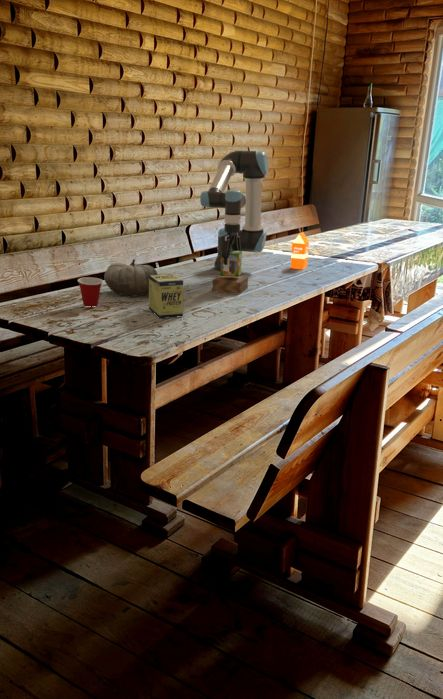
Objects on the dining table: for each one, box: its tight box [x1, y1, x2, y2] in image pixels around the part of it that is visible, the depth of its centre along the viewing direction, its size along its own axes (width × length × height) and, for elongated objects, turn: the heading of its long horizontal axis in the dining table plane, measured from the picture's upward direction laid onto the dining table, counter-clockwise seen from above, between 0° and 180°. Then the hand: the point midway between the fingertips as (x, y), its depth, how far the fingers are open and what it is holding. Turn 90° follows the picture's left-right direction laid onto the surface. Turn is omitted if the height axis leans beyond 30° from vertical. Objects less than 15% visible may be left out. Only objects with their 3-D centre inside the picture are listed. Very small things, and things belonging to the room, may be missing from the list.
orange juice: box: [290, 231, 310, 270], centre depth 390 cm, size 8×9×20 cm
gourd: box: [103, 258, 158, 297], centre depth 318 cm, size 25×25×17 cm
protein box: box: [148, 273, 184, 319], centre depth 286 cm, size 10×16×16 cm
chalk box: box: [219, 247, 243, 277], centre depth 330 cm, size 9×9×15 cm
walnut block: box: [212, 275, 249, 295], centre depth 333 cm, size 14×14×6 cm
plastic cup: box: [77, 276, 104, 307], centre depth 294 cm, size 11×11×12 cm
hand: (230, 269), depth 331 cm, fingers closed on chalk box, 10 cm apart
